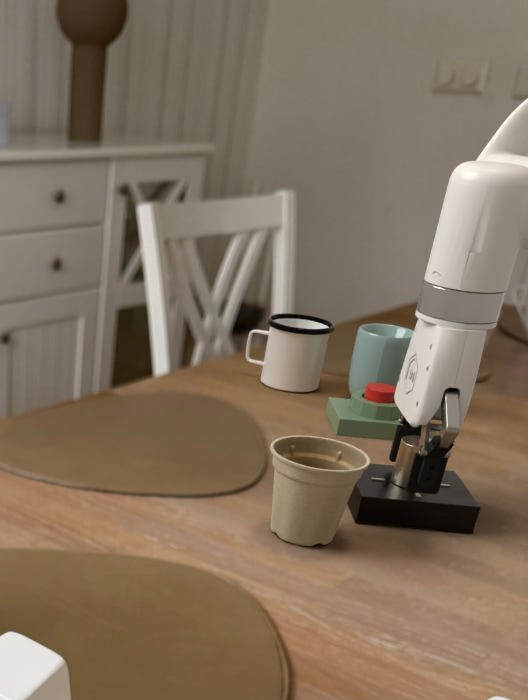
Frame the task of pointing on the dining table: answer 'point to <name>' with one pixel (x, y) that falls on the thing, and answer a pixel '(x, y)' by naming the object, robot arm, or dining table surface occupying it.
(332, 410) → the button housing
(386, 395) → the button
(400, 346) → the cup
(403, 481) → the knob
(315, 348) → the mug
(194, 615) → the dining table surface
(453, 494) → the dial panel
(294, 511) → the flower pot
